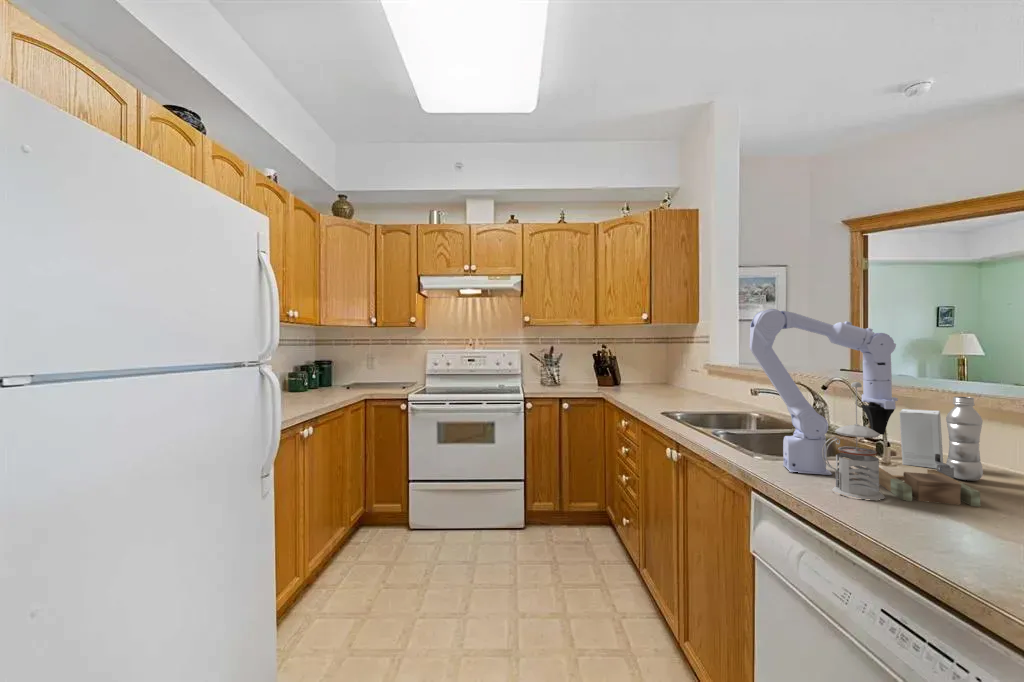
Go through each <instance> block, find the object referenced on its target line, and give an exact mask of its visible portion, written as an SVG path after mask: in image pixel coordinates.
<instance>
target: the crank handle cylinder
mask: <svg viewBox="0 0 1024 682" xmlns="http://www.w3.org/2000/svg"><path fill="white" fill-rule="evenodd" d="M935 463H936V464H938V465H937V469H936V471H938V472H940V473H942V474H944V475H947V476H949V477H951V478H953V479H955V478H954V467H951V466H950V465H948V464H946V463H945V462H944V461H943V462H941V461H940V454H935Z"/></svg>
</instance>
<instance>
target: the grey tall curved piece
mask: <svg viewBox="0 0 1024 682" xmlns="http://www.w3.org/2000/svg"><path fill="white" fill-rule="evenodd" d="M850 386H851V388H855V424H849V425H844V426H840V427H837V428H836V429H835V430H834V432H835V433H836V434H838V435H841V436H846V437H853V438H854V437H855V442H856V443H855V444H856V445H855V446H850V445H849V446H845V445H844V446H839V445H841V439H840V438H837V437H836V436H835V437H834V436H833V437H830V438H828V439H826V442H825V444H824V446H823V448H822V457H823V460H824V462H825V463H826V466H828V467H829V468H831V470H834V471H835V486H834V488H833V487H832V488H833V489H832V488H831V489H832V490H833V491H835V492H838V493H840V494H844V495H847V496H852V497H856V498H861V499H870V500H879V499H884V498H885V499H886V496H885V495H884V494H882V492H880V484H879V468H880V466H879V465H880V464H879V458H878V457H875V456H876V455H877V454H878V452H877V451H876V450H874V449H871V448H867V447H859V446H858V438H879V436H880V435H881V434H879V433H877V432H876V431H874V430H872V429H871V427H867V426H864V425H860V424H858V392H857V391H858V389H857V388H863V384H862V383H861V382H860V381H853V382H851V384H850ZM832 439H833V440H832ZM830 440H831V441H830ZM837 440H838V441H837ZM829 441H830V442H829ZM833 442H835V444H836V445H838V448H837V450H838V451H839V452H840V453H837V454H835V468H834V467H833V466H832V465H831V464H830V462H829V460H828V449H829V447H830V445H831V444H832V443H833ZM827 443H828V444H827ZM825 445H826V452H825V454H826V461H825V459H824V451H823V450H824V447H825ZM853 467H855V468H853ZM854 473H856V474H854ZM855 479H857V480H855ZM885 499H884V500H885Z"/></svg>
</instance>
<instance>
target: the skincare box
mask: <svg viewBox="0 0 1024 682" xmlns="http://www.w3.org/2000/svg"><path fill="white" fill-rule="evenodd" d="M899 423H900V424H899V425H900V426H899V427H900V443H901V459H902V462H901V463H902V466H903V465H905V466H913V467H914V466H915V467H921V468H922V467H923V468H928V469H929V468H930V469H934V470H937V465H938V464H936V463H935V454H940V461H941V462H943V463H944V453H943V452H944V451H943V439H942V438H943V437H942V420H941V411H940V410H930V409H929V410H926V409H907V408H902V409H901V410H900V411H899Z"/></svg>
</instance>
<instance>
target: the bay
mask: <svg viewBox="0 0 1024 682" xmlns="http://www.w3.org/2000/svg"><path fill="white" fill-rule="evenodd" d="M926 472H927V473H926V474H939V475H944V474H942V473H940V472H938V471H937V469H929V468H928V469H927V470H926ZM944 476H946V477H948V478H950V479H952V480H954V481H956V482H958V483H959V484H960V485H961V489H960V502H961V501H962V502H963V503H965V504H966V505H969V506H971V507H981V491H979V490H977V489H975V488H973V487H972V486H971V487H970V486H969V485H967V484H964V482H963V483H962V482H961V481H958V479H957V480H956V478H954V479H953V478H951V477H949V476H947V475H944ZM879 486H881V487H883V488H885V489H886V490H887V491H889V492H890V493H892V494H893V495H894V496H896V497H897V498H899V499H900V500H901V501H903V500H906V501H905V502H913V497H912V487H911V486H909V485H908V484H906V483H904V475H898V474H897V475H896V474H891V473H889V472H888V471H886V470H884V469H883V468H881V467H879Z"/></svg>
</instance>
